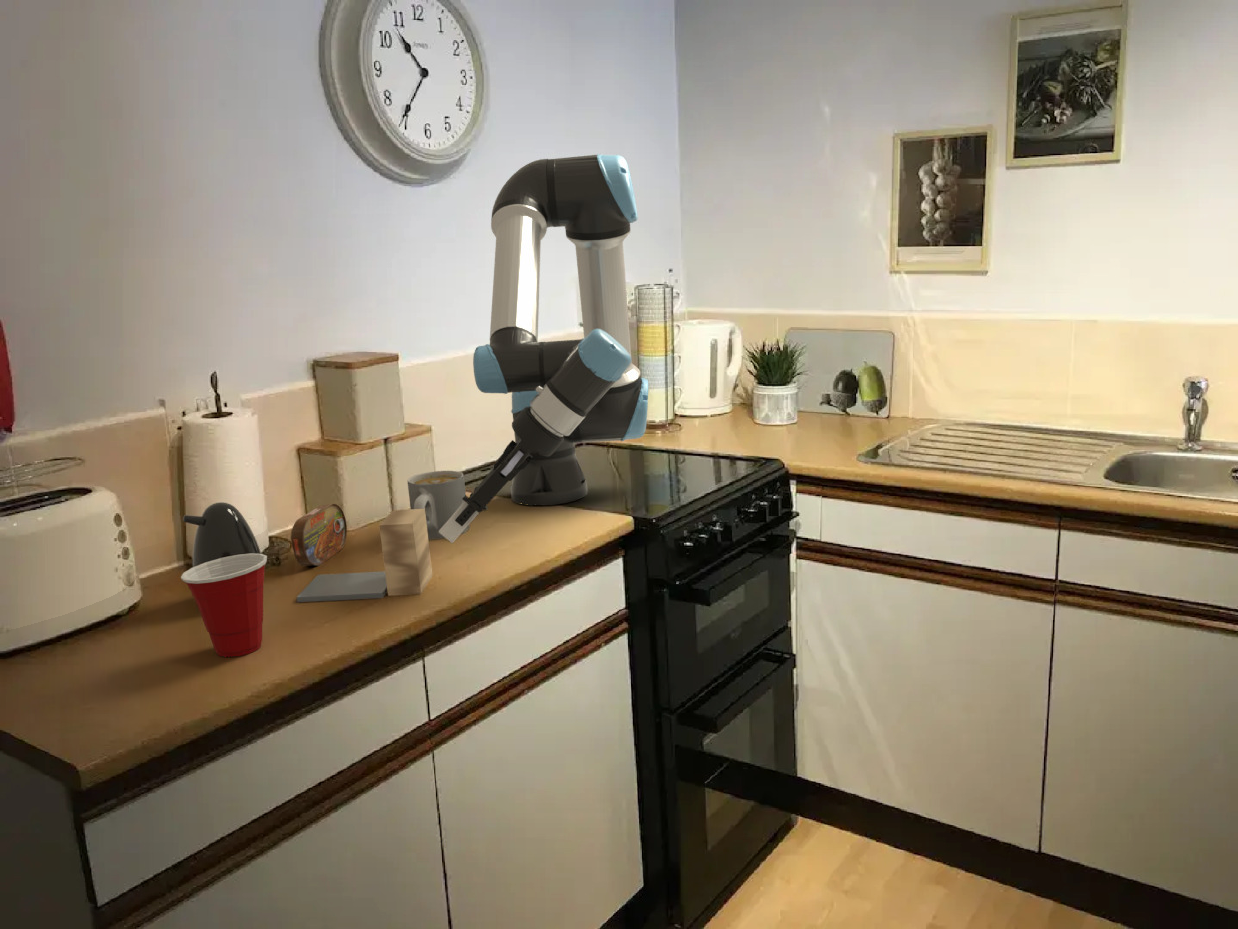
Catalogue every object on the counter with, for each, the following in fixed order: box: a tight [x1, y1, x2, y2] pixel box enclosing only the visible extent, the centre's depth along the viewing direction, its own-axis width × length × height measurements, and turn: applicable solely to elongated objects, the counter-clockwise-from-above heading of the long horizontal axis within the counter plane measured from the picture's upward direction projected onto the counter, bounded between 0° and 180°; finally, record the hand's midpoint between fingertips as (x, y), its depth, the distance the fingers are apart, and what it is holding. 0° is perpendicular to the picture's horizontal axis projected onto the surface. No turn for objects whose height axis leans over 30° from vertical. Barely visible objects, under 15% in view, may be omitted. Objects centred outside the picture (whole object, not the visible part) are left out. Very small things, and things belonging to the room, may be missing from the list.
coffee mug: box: [407, 470, 470, 540], centre depth 183 cm, size 13×10×10 cm
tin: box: [290, 503, 348, 567], centre depth 174 cm, size 15×3×8 cm, turn 168°
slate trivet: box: [296, 570, 388, 603], centre depth 158 cm, size 13×10×1 cm
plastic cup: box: [180, 553, 268, 658], centre depth 136 cm, size 11×11×12 cm
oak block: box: [378, 508, 434, 597], centre depth 157 cm, size 5×8×11 cm, turn 178°
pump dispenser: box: [182, 501, 266, 571], centre depth 156 cm, size 10×10×15 cm
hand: (446, 536), depth 156 cm, fingers closed
